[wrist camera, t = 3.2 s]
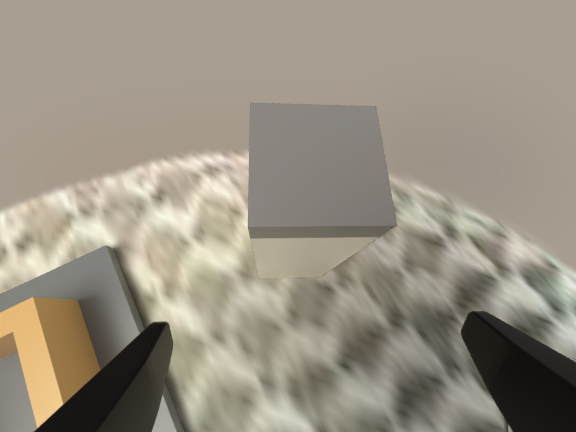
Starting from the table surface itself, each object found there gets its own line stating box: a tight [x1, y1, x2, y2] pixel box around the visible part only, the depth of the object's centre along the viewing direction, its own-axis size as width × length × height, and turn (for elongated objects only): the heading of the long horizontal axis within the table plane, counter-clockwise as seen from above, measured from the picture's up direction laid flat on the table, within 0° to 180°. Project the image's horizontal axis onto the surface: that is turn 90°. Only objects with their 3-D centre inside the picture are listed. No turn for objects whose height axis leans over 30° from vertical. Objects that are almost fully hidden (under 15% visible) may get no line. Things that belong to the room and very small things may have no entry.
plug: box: [248, 103, 397, 279], centre depth 15 cm, size 4×4×12 cm
